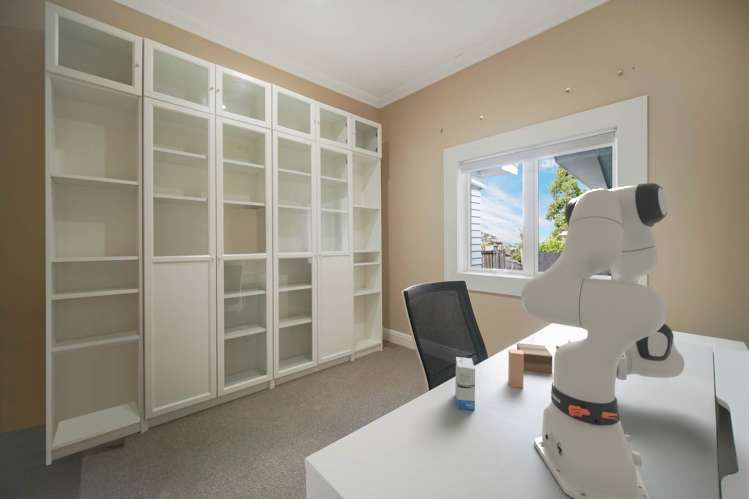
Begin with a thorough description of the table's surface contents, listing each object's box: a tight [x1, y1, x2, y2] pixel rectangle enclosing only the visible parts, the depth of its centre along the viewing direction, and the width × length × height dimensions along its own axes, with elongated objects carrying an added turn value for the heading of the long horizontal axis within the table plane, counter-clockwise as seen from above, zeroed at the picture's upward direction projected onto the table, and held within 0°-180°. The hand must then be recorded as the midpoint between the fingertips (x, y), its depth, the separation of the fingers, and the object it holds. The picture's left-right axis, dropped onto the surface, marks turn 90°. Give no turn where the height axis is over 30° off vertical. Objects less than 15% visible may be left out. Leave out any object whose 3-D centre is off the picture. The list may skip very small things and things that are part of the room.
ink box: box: [454, 356, 476, 411], centre depth 88 cm, size 8×5×12 cm, turn 168°
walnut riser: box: [516, 342, 553, 374], centre depth 116 cm, size 12×10×6 cm
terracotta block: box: [507, 348, 525, 389], centre depth 100 cm, size 4×4×11 cm
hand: (560, 353), depth 96 cm, fingers open, 8 cm apart
